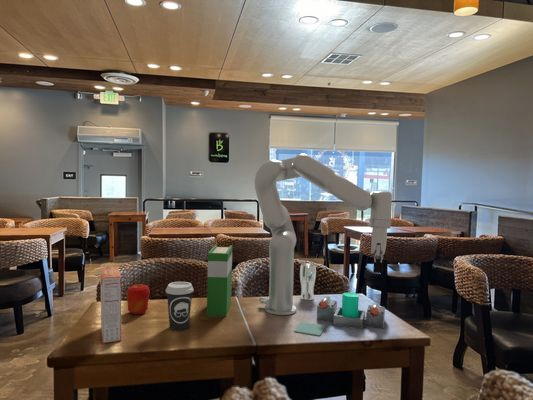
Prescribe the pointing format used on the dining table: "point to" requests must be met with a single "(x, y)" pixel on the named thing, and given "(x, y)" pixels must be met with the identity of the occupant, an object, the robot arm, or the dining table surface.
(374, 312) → the right plunger
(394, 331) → the dining table surface
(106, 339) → the cracker box
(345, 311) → the candle
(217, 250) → the hardback book
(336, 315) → the housing
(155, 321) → the dining table surface
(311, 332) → the pad
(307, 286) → the beer glass
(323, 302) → the left plunger
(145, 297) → the apple
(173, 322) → the coffee cup
